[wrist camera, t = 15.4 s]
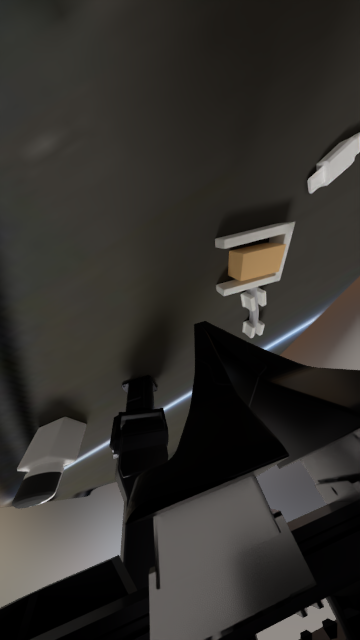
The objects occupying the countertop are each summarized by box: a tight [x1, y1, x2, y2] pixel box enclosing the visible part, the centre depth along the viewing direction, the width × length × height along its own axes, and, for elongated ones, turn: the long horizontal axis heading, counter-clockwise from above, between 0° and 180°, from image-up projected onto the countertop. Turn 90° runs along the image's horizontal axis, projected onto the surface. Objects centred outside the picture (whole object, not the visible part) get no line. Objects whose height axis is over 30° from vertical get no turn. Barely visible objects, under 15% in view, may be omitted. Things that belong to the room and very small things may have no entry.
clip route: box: [241, 287, 266, 338], centre depth 25 cm, size 12×4×2 cm, turn 11°
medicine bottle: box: [12, 417, 87, 508], centre depth 28 cm, size 7×7×12 cm
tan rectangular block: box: [228, 242, 286, 281], centre depth 19 cm, size 4×6×4 cm, turn 99°
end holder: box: [215, 222, 295, 296], centre depth 19 cm, size 8×10×2 cm
